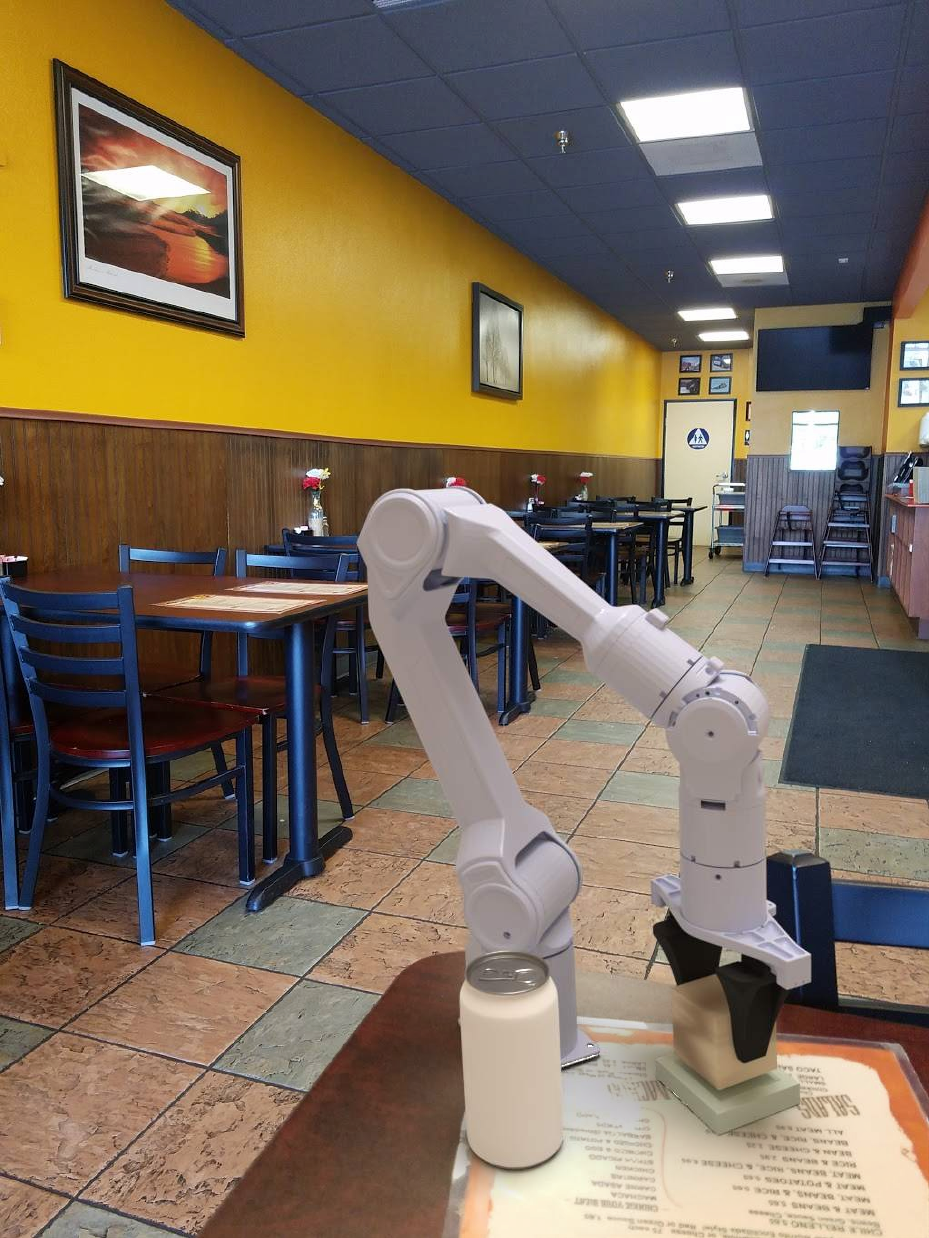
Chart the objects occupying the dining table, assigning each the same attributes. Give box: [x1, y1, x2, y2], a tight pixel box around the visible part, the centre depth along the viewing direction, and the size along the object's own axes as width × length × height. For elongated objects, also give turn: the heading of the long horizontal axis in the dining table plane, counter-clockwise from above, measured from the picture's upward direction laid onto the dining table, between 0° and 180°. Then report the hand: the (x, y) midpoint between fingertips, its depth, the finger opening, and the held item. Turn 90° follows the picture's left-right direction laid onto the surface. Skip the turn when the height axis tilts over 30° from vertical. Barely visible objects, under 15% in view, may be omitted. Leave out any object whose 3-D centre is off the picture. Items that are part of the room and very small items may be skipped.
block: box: [671, 974, 778, 1090], centre depth 67 cm, size 5×5×5 cm
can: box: [459, 950, 564, 1170], centre depth 63 cm, size 6×6×12 cm
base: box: [655, 1052, 801, 1136], centre depth 68 cm, size 7×7×2 cm
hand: (725, 1036), depth 67 cm, fingers closed on block, 5 cm apart
